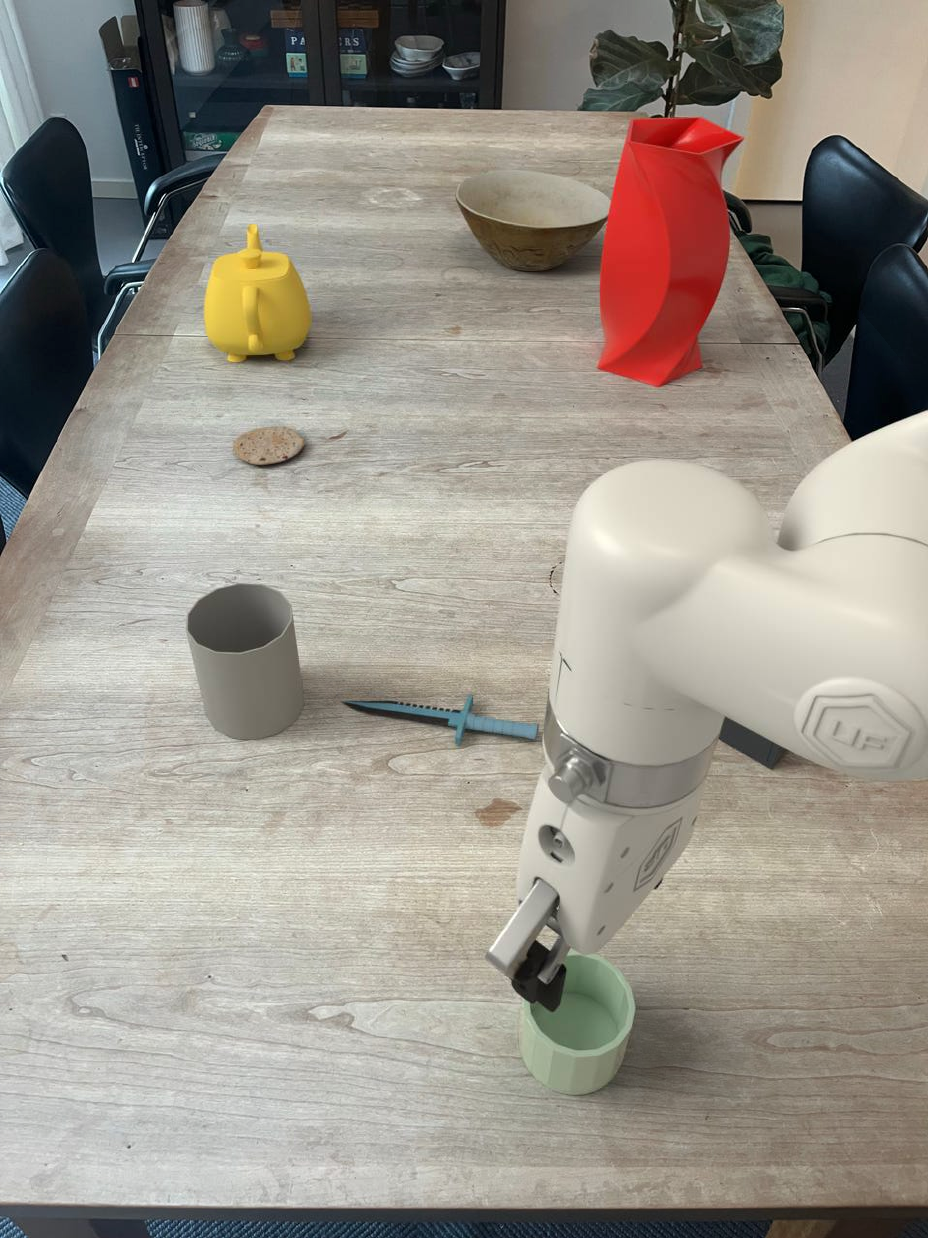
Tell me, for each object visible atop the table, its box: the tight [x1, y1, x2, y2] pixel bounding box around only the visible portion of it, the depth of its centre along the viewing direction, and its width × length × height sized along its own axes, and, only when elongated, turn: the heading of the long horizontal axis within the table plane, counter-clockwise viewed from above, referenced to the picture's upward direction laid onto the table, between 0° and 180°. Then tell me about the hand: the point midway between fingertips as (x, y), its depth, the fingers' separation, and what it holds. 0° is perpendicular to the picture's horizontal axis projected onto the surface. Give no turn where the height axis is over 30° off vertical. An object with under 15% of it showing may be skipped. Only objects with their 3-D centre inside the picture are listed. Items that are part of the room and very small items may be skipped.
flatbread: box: [232, 426, 306, 466], centre depth 115 cm, size 8×8×1 cm
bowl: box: [454, 168, 611, 272], centre depth 152 cm, size 24×24×10 cm
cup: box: [185, 582, 305, 741], centre depth 83 cm, size 8×8×10 cm
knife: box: [340, 693, 540, 746], centre depth 85 cm, size 17×1×5 cm
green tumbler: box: [517, 949, 637, 1096], centre depth 63 cm, size 7×7×6 cm
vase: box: [596, 116, 746, 388], centre depth 123 cm, size 15×14×28 cm
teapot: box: [203, 223, 312, 363], centre depth 130 cm, size 14×20×13 cm
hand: (586, 929), depth 56 cm, fingers open, 9 cm apart
